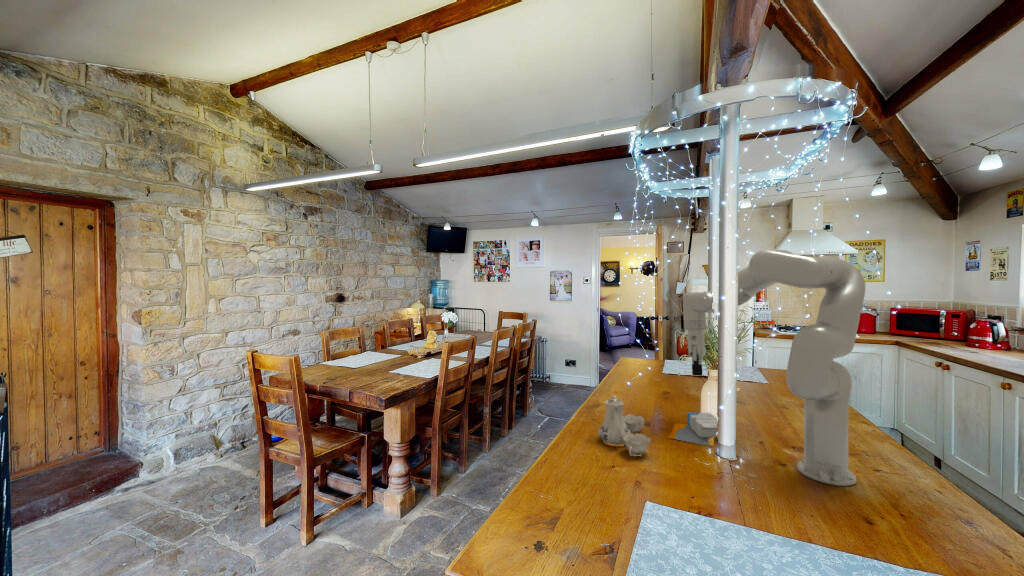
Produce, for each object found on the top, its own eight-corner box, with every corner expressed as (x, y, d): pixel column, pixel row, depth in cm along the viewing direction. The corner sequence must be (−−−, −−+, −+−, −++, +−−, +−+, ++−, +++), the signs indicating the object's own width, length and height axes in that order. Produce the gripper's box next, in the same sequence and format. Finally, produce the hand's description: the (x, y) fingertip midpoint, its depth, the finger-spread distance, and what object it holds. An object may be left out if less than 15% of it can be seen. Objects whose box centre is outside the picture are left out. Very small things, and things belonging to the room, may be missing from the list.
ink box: (687, 425, 143) (702, 441, 128) (687, 412, 143) (702, 426, 128) (711, 425, 142) (729, 442, 127) (711, 412, 142) (729, 427, 127)
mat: (713, 447, 125) (713, 446, 125) (667, 438, 132) (667, 437, 132) (716, 429, 139) (716, 429, 139) (675, 423, 146) (675, 422, 146)
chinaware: (657, 468, 115) (662, 413, 114) (600, 460, 117) (605, 406, 117) (640, 431, 143) (644, 387, 142) (594, 425, 145) (598, 382, 144)
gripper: (704, 327, 134) (706, 380, 134) (708, 323, 147) (710, 372, 146) (680, 327, 138) (683, 378, 138) (686, 323, 151) (689, 370, 150)
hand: (697, 374), depth 142 cm, fingers closed
